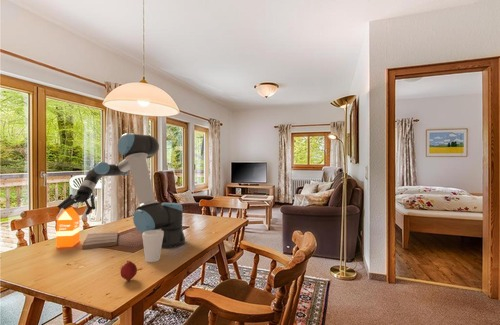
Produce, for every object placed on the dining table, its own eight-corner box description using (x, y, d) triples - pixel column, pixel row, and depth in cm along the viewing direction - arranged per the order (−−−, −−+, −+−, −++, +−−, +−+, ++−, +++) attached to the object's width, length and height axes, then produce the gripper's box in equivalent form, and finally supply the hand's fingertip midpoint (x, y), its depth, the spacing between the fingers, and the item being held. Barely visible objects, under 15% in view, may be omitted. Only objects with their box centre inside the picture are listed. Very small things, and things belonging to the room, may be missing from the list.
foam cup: (155, 264, 113) (155, 236, 113) (137, 262, 115) (138, 234, 115) (166, 257, 122) (167, 230, 122) (150, 255, 124) (150, 229, 124)
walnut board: (116, 245, 138) (116, 241, 138) (81, 249, 131) (81, 245, 131) (117, 234, 157) (117, 231, 157) (87, 237, 150) (87, 234, 150)
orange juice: (79, 241, 143) (80, 206, 143) (72, 246, 134) (73, 209, 134) (63, 242, 141) (64, 207, 141) (55, 247, 133) (56, 210, 132)
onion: (128, 276, 102) (128, 256, 102) (140, 278, 100) (140, 258, 100) (117, 282, 96) (117, 262, 96) (129, 285, 94) (129, 264, 94)
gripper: (109, 193, 159) (95, 222, 144) (68, 192, 157) (50, 222, 142) (104, 185, 153) (90, 215, 139) (62, 185, 152) (43, 215, 137)
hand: (70, 219), depth 140 cm, fingers open, 13 cm apart
